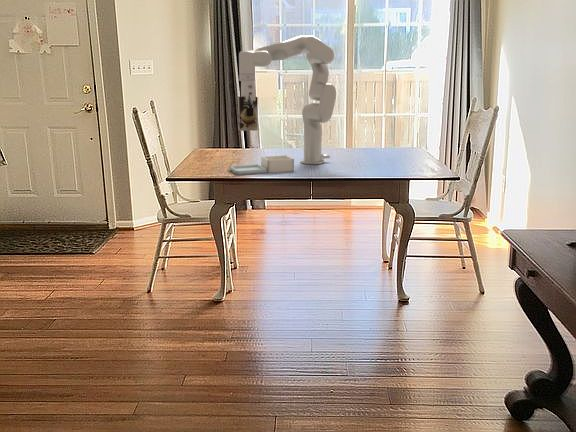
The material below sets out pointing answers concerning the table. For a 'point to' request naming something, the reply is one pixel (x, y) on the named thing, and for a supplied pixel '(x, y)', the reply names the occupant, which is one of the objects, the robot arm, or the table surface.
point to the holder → (277, 163)
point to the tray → (247, 169)
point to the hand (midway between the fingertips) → (247, 115)
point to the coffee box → (247, 121)
